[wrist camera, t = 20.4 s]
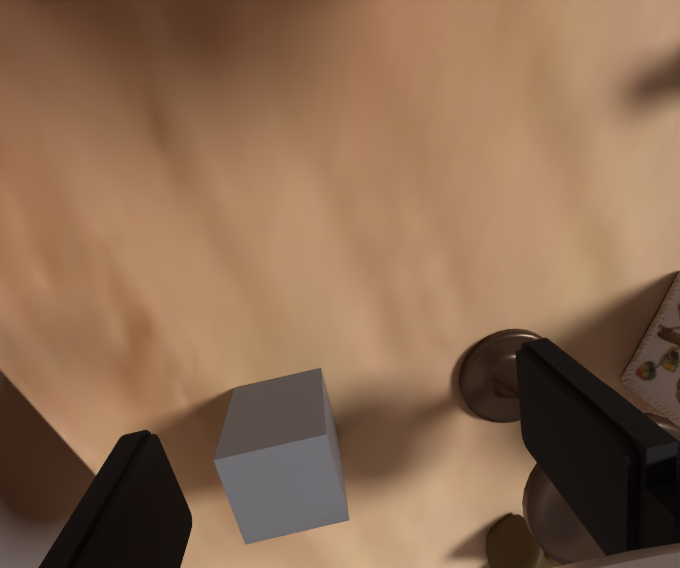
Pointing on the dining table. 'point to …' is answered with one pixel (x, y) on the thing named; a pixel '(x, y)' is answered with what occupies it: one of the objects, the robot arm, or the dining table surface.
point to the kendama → (515, 546)
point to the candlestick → (539, 493)
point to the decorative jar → (659, 359)
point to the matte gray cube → (282, 457)
